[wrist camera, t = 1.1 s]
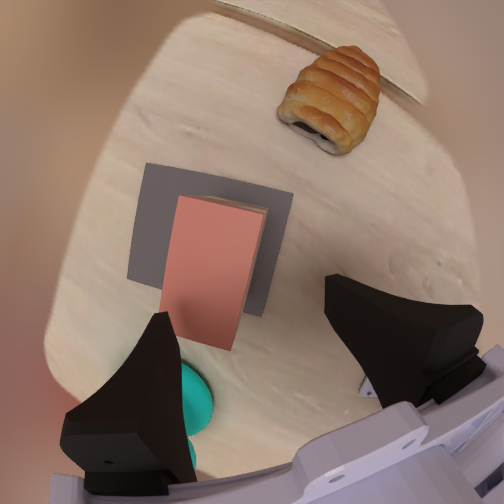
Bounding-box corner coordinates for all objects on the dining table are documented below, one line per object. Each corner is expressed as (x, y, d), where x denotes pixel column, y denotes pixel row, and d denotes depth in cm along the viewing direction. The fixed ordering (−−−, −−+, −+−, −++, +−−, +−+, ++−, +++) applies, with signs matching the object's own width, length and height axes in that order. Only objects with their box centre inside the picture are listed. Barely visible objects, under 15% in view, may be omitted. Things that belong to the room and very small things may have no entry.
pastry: (324, 40, 19) (331, 17, 16) (392, 80, 20) (409, 64, 16) (271, 122, 21) (270, 107, 17) (345, 166, 21) (358, 160, 18)
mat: (293, 193, 22) (293, 193, 21) (261, 314, 24) (261, 316, 23) (148, 163, 22) (146, 162, 22) (129, 277, 24) (126, 278, 24)
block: (269, 208, 22) (263, 214, 13) (247, 295, 23) (230, 351, 14) (217, 196, 22) (179, 195, 13) (199, 282, 23) (157, 329, 14)
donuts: (86, 466, 18) (64, 392, 16) (126, 409, 27) (122, 336, 26) (189, 504, 17) (194, 441, 15) (210, 434, 27) (221, 363, 25)
